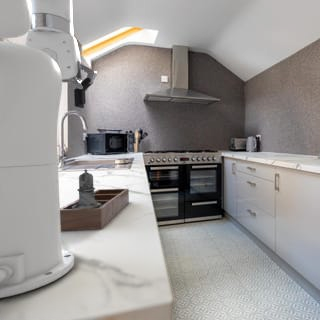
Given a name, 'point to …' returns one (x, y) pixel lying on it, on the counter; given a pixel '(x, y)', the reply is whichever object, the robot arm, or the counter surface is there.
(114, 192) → the divided wooden tray
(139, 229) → the counter surface
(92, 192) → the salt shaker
